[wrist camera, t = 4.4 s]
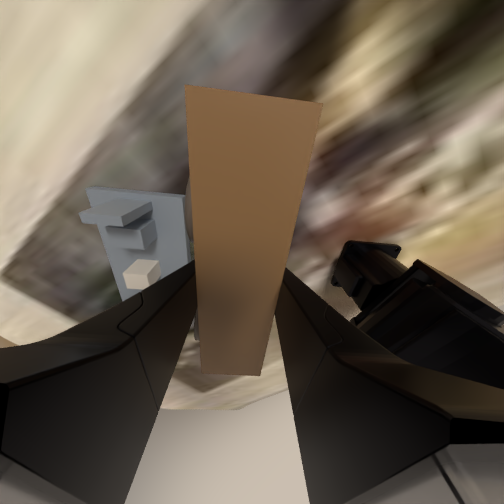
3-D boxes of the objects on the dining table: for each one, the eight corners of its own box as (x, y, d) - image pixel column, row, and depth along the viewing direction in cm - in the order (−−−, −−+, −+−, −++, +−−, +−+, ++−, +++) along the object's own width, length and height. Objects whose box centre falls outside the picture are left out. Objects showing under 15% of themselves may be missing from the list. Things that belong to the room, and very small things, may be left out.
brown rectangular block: (202, 108, 7) (174, 83, 4) (296, 120, 7) (323, 103, 5) (207, 329, 13) (197, 372, 11) (258, 332, 14) (260, 376, 11)
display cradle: (186, 195, 19) (160, 212, 13) (194, 312, 27) (181, 351, 22) (94, 186, 18) (31, 200, 13) (132, 308, 26) (102, 347, 21)
